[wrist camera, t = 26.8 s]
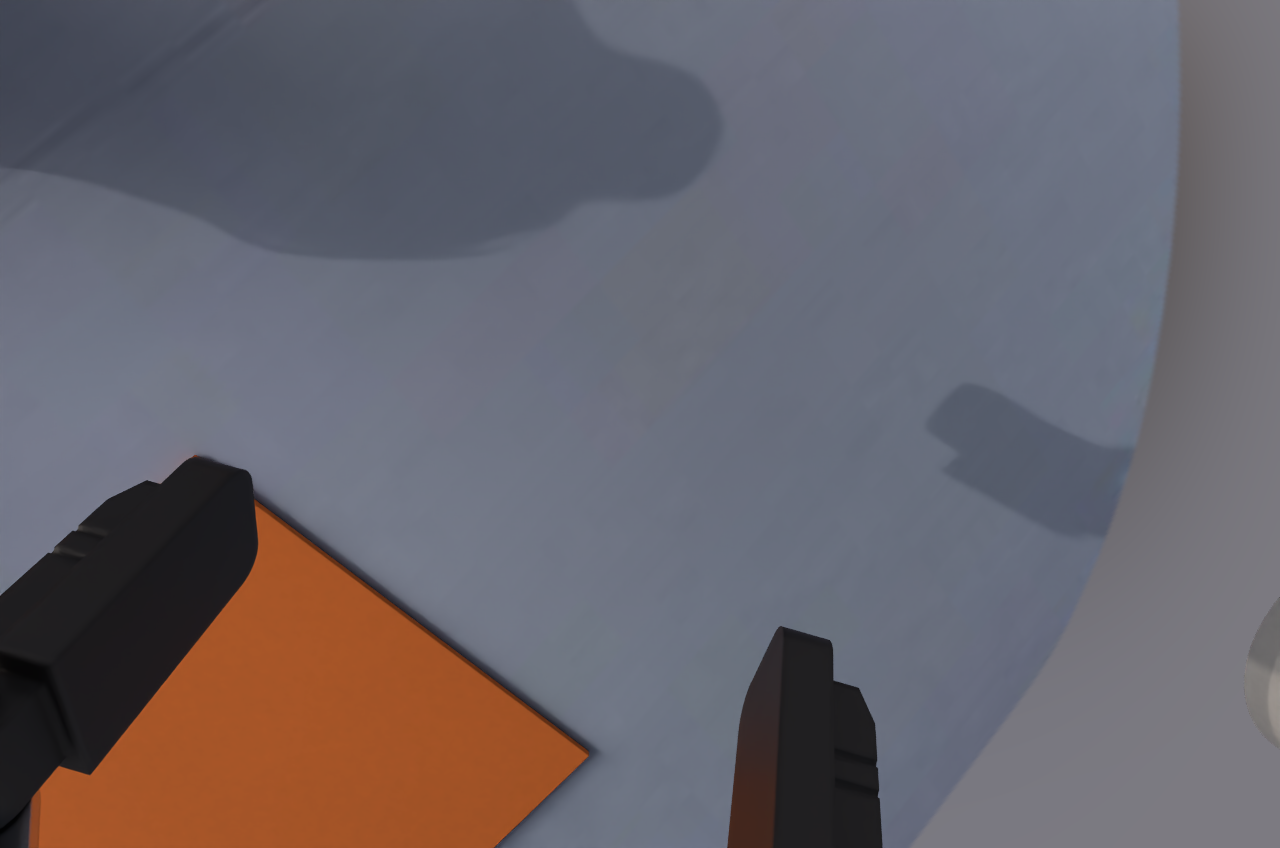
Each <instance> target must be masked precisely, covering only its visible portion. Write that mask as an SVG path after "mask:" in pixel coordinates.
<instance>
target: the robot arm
mask: <svg viewBox="0 0 1280 848" xmlns="http://www.w3.org/2000/svg"><path fill="white" fill-rule="evenodd" d="M78 526H79V527H78V529H77V531H72V532H71V533H70V534H68V535H67V536H66V537H65V538H64V539H63V540H62V541H61V542H60V543H58V544H57V545H56V546H55V549H54V551H53V552H52V553H47V554H46V555H45V556H44V557H43V558H42V559H41V560H40V561H38V562H37V563H36V564H35V565H34V566H33V567H32V568H31V569H30V570H28V571H27V572H26V573H25V574H24V575H23V576H22V577H21V578H20V579H18V580H17V581H16V582H15V583H14V584H13V585H12V586H11V587H9V588H8V589H7V590H6V591H5V592H4V593H3V594H2V595H1V596H0V848H39V830H40V810H41V793H40V790H39V789H40V788H41V786H42V785H43V784H44V783H45V782H46V780H47V779H48V778H49V777H50V776H51V775H52V773H53V772H54V771H55V770H56V769H57V767H58V766H60V767H64V768H67V769H70V770H74V771H77V772H80V773H84V774H87V775H91V774H92V773H93V771H94V770H95V769H96V768H97V766H98V765H99V764H100V763H101V761H102V760H103V759H104V758H105V756H106V755H107V754H108V753H109V751H110V750H111V749H112V748H113V746H114V745H115V744H116V743H117V741H118V740H119V739H120V738H121V736H122V735H123V734H124V733H125V731H126V730H127V729H128V728H129V726H130V725H131V724H132V723H133V721H134V720H135V719H136V717H137V716H138V715H139V714H140V712H141V711H142V710H143V709H144V707H145V706H146V705H147V704H148V702H149V701H150V700H151V699H152V697H153V696H154V695H155V694H156V692H157V691H158V690H159V689H160V687H161V686H162V685H163V684H164V682H165V681H166V680H167V679H168V677H169V676H170V675H171V674H172V672H173V671H174V670H175V669H176V667H177V666H178V665H179V664H180V662H181V661H182V660H183V659H184V657H185V656H186V655H187V654H188V652H189V651H190V650H191V648H192V647H193V646H194V645H195V643H196V642H197V641H198V640H199V638H200V637H201V636H202V635H203V633H204V632H205V631H206V630H207V628H208V627H209V626H210V625H211V623H212V622H213V621H214V620H215V618H216V617H217V616H218V615H219V613H220V612H221V611H222V610H223V608H224V607H225V606H226V605H227V603H228V602H229V601H230V600H231V598H232V597H233V596H234V595H235V593H236V592H237V591H238V590H239V588H240V587H241V586H242V584H243V583H244V582H245V580H246V579H247V577H248V576H249V574H250V572H251V570H252V567H253V565H254V562H255V559H256V556H257V551H258V532H257V522H256V513H255V503H254V494H253V484H252V478H251V475H250V474H249V472H248V471H246V470H243V469H239V468H236V467H232V466H229V465H225V464H222V463H218V462H215V461H212V460H208V459H205V458H201V457H192V458H189V459H188V460H186V461H185V462H184V463H182V464H181V465H180V466H179V467H178V468H177V469H176V470H175V471H174V472H173V473H172V474H171V475H170V476H169V477H168V478H167V479H165V480H164V481H163V482H162V483H161V484H158V483H155V482H151V481H148V480H146V481H144V482H142V483H140V484H138V485H136V486H134V487H132V488H130V489H128V490H126V491H124V492H122V493H119V494H117V495H115V496H113V497H111V498H109V499H107V500H106V501H105V502H104V503H103V504H102V505H101V506H100V507H98V508H97V509H96V510H95V511H94V512H93V513H92V514H91V515H90V516H88V517H87V518H86V519H85V520H84V521H83V522H82V523H81V524H80V525H78ZM876 762H877V748H876V731H875V723H874V720H873V718H872V716H871V714H870V712H869V709H868V707H867V705H866V703H865V701H864V698H863V696H862V694H861V692H860V690H859V688H857V687H854V686H850V685H847V684H843V683H840V682H836V681H833V647H832V643H831V641H830V640H827V639H824V638H820V637H817V636H813V635H810V634H807V633H803V632H800V631H796V630H793V629H789V628H786V627H782V626H780V627H779V628H778V629H777V630H776V632H775V634H774V636H773V638H772V640H771V642H770V644H769V647H768V649H767V651H766V653H765V655H764V657H763V659H762V661H761V663H760V665H759V667H758V670H757V672H756V674H755V676H754V678H753V680H752V682H751V684H750V686H749V689H748V692H747V694H746V698H745V701H744V705H743V709H742V713H741V718H740V724H739V732H738V743H737V753H736V764H735V774H734V784H733V795H732V805H731V816H730V826H729V836H728V847H727V848H882V831H881V814H880V798H878V792H879V781H878V768H877V767H876Z"/></svg>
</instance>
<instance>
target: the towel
mask: <svg viewBox="0 0 1280 848" xmlns="http://www.w3.org/2000/svg"><path fill="white" fill-rule="evenodd" d="M193 457H198V456H197V455H194V456H193ZM254 503H255V513H256V522H257V532H258V551H257V556H256V559H255V562H254V565H253V567H252V570H251V572H250V574H249V576H248V577H247V579H246V580H245V582H244V583H243V584H242V586H241V587H240V588H239V590H238V591H237V592H236V593H235V595H234V596H233V597H232V598H231V600H230V601H229V602H228V603H227V605H226V606H225V607H224V608H223V610H222V611H221V612H220V613H219V615H218V616H217V617H216V618H215V620H214V621H213V622H212V623H211V625H210V626H209V627H208V628H207V630H206V631H205V632H204V633H203V635H202V636H201V637H200V638H199V640H198V641H197V642H196V643H195V645H194V646H193V647H192V648H191V650H190V651H189V652H188V654H187V655H186V656H185V657H184V659H183V660H182V661H181V662H180V664H179V665H178V666H177V667H176V669H175V670H174V671H173V672H172V674H171V675H170V676H169V677H168V679H167V680H166V681H165V682H164V684H163V685H162V686H161V687H160V689H159V690H158V691H157V692H156V694H155V695H154V696H153V697H152V699H151V700H150V701H149V702H148V704H147V705H146V706H145V707H144V709H143V710H142V711H141V712H140V714H139V715H138V716H137V717H136V719H135V720H134V721H133V723H132V724H131V725H130V726H129V728H128V729H127V730H126V731H125V733H124V734H123V735H122V736H121V738H120V739H119V740H118V741H117V743H116V744H115V745H114V746H113V748H112V749H111V750H110V751H109V753H108V754H107V755H106V756H105V758H104V759H103V760H102V761H101V763H100V764H99V765H98V766H97V768H96V769H95V770H94V771H93V773H92V774H91V775H87V774H84V773H80V772H77V771H74V770H70V769H67V768H64V767H60V766H58V767H57V769H56V770H55V771H54V772H53V773H52V775H51V776H50V777H49V778H48V779H47V780H46V782H45V783H44V784H43V785H42V786H41V788H40V789H39V790H40V793H41V810H40V830H39V848H494V847H495V846H496V845H497V844H498V843H499V842H500V841H501V840H502V839H503V838H504V837H505V836H506V835H508V834H509V833H510V832H511V831H512V830H513V829H514V828H515V827H516V826H517V825H518V824H519V823H520V822H521V821H522V820H523V819H524V818H525V817H526V816H527V815H528V814H529V813H530V812H531V811H532V810H533V809H535V808H536V807H537V806H538V805H539V804H540V803H541V802H542V801H543V800H544V799H545V798H546V797H547V796H548V795H549V794H550V793H551V792H552V791H553V790H554V789H555V788H556V787H557V786H558V785H559V784H560V783H561V782H563V781H564V780H565V779H566V778H567V777H568V776H569V775H570V774H571V773H572V772H573V771H574V770H575V769H576V768H577V767H578V766H579V765H580V764H581V763H582V762H583V761H584V760H585V759H586V758H587V757H588V756H589V751H588V750H586V749H585V748H584V747H582V746H581V745H580V744H578V743H577V742H576V741H574V740H573V739H572V738H570V737H569V736H568V735H566V734H565V733H564V732H562V731H561V730H560V729H559V728H557V727H556V726H555V725H553V724H552V723H551V722H549V721H548V720H547V719H545V718H544V717H543V716H541V715H540V714H539V713H537V712H536V711H535V710H533V709H532V708H531V707H529V706H528V705H527V704H525V703H524V702H523V701H521V700H520V699H519V698H517V697H516V696H515V695H513V694H512V693H511V692H509V691H508V690H507V689H505V688H504V687H503V686H501V685H500V684H499V683H498V682H496V681H495V680H494V679H492V678H491V677H490V676H488V675H487V674H486V673H484V672H483V671H482V670H480V669H479V668H478V667H476V666H475V665H474V664H472V663H471V662H470V661H468V660H467V659H466V658H464V657H463V656H462V655H460V654H459V653H458V652H456V651H455V650H454V649H452V648H451V647H450V646H448V645H447V644H446V643H444V642H443V641H442V640H441V639H439V638H438V637H437V636H435V635H434V634H433V633H431V632H430V631H429V630H427V629H426V628H425V627H423V626H422V625H421V624H419V623H418V622H417V621H415V620H414V619H413V618H411V617H410V616H409V615H407V614H406V613H405V612H403V611H402V610H401V609H399V608H398V607H397V606H395V605H394V604H393V603H391V602H390V601H389V600H387V599H386V598H385V597H383V596H382V595H381V594H380V593H378V592H377V591H376V590H374V589H373V588H372V587H370V586H369V585H368V584H366V583H365V582H364V581H362V580H361V579H360V578H358V577H357V576H356V575H354V574H353V573H352V572H350V571H349V570H348V569H346V568H345V567H344V566H342V565H341V564H340V563H338V562H337V561H336V560H334V559H333V558H332V557H330V556H329V555H328V554H326V553H325V552H324V551H322V550H321V549H320V548H319V547H317V546H316V545H315V544H313V543H312V542H311V541H309V540H308V539H307V538H305V537H304V536H303V535H301V534H300V533H299V532H297V531H296V530H295V529H293V528H292V527H291V526H289V525H288V524H287V523H285V522H284V521H283V520H281V519H280V518H279V517H277V516H276V515H275V514H273V513H272V512H271V511H269V510H268V509H267V508H265V507H264V506H263V505H261V504H260V503H259V502H258V501H256V500H255V499H254Z"/></svg>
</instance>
